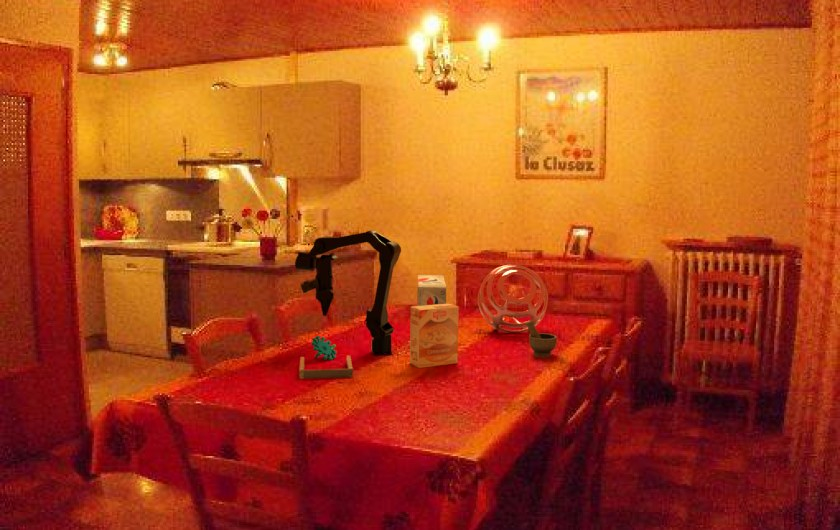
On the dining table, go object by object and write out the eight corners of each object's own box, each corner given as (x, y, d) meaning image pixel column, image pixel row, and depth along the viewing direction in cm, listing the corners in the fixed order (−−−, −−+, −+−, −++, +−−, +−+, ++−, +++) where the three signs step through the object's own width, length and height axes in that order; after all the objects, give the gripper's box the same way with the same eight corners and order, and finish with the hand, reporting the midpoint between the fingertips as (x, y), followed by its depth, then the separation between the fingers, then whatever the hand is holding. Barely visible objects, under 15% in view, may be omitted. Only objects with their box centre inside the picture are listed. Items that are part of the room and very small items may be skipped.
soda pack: (446, 318, 326) (446, 286, 324) (416, 317, 326) (417, 286, 324) (443, 301, 366) (443, 273, 364) (417, 301, 366) (417, 273, 364)
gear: (322, 359, 248) (309, 335, 252) (312, 369, 250) (298, 345, 254) (344, 357, 257) (330, 333, 261) (334, 367, 259) (321, 344, 263)
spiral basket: (484, 274, 321) (491, 244, 296) (547, 292, 318) (560, 263, 293) (467, 332, 308) (473, 306, 284) (533, 351, 306) (545, 327, 281)
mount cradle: (350, 363, 249) (350, 355, 249) (352, 377, 232) (352, 369, 232) (300, 364, 247) (300, 357, 247) (299, 378, 230) (299, 371, 230)
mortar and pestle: (559, 354, 264) (560, 320, 263) (552, 360, 256) (553, 325, 254) (528, 350, 269) (529, 317, 267) (520, 356, 260) (521, 322, 259)
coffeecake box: (418, 368, 244) (419, 309, 241) (409, 363, 250) (409, 306, 247) (458, 363, 250) (459, 306, 248) (448, 358, 257) (448, 302, 254)
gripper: (301, 268, 275) (302, 310, 277) (300, 275, 257) (301, 320, 259) (332, 268, 277) (332, 309, 279) (333, 275, 258) (333, 319, 260)
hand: (324, 314), depth 269 cm, fingers open, 4 cm apart
